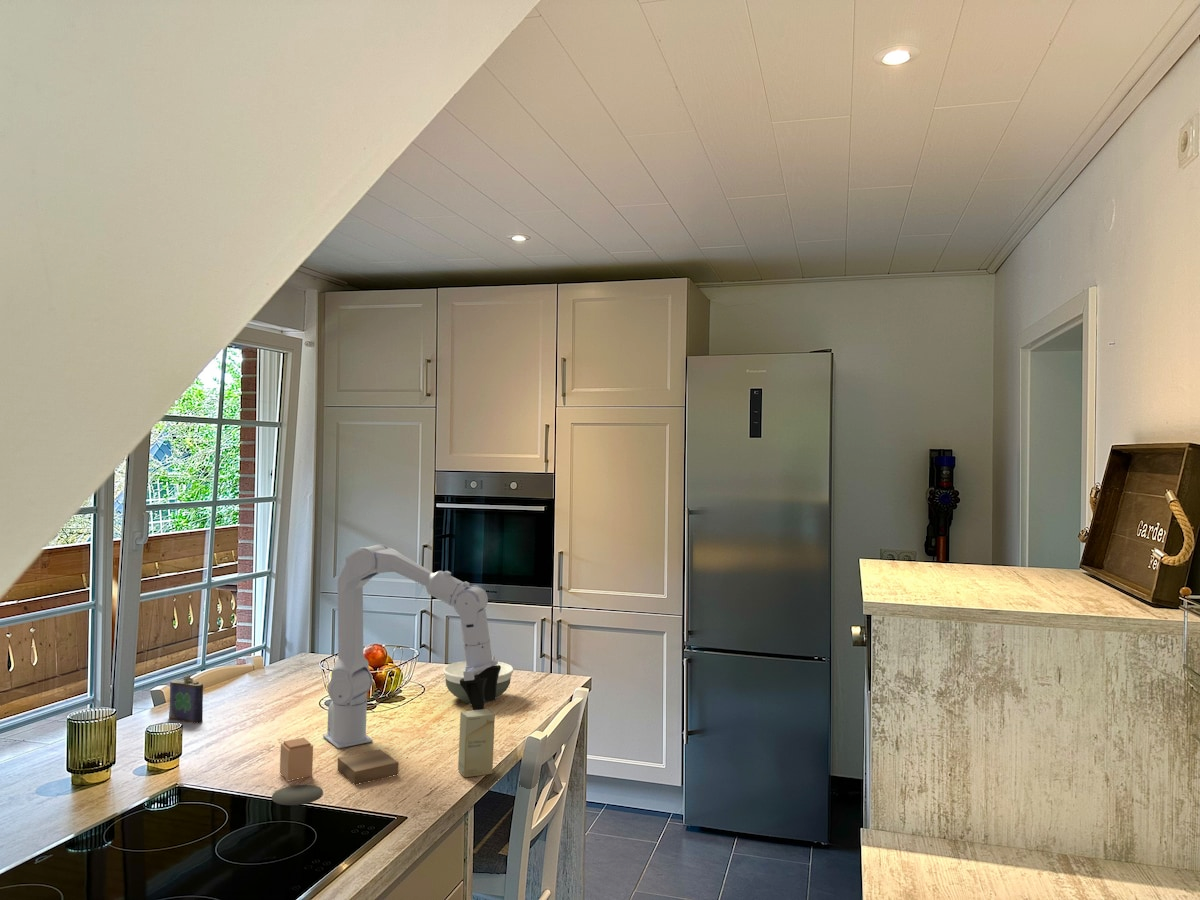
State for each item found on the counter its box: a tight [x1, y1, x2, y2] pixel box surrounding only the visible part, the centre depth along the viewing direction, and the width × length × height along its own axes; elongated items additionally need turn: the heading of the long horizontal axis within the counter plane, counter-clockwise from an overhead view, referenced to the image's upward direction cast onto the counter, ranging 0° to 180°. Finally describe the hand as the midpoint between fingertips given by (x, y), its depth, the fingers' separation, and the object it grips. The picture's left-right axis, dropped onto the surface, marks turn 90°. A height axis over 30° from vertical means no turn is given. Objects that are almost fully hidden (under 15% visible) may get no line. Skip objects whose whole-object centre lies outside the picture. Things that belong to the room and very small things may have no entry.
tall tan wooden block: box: [279, 737, 314, 781], centre depth 163 cm, size 5×5×6 cm
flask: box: [168, 674, 204, 724], centre depth 194 cm, size 9×3×11 cm, turn 71°
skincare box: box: [457, 708, 496, 778], centre depth 167 cm, size 6×4×12 cm
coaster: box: [271, 784, 324, 806], centre depth 153 cm, size 9×9×1 cm
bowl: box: [442, 660, 514, 705], centre depth 217 cm, size 19×19×8 cm
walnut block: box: [337, 749, 399, 786], centre depth 165 cm, size 9×9×3 cm
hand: (484, 705), depth 177 cm, fingers open, 7 cm apart
